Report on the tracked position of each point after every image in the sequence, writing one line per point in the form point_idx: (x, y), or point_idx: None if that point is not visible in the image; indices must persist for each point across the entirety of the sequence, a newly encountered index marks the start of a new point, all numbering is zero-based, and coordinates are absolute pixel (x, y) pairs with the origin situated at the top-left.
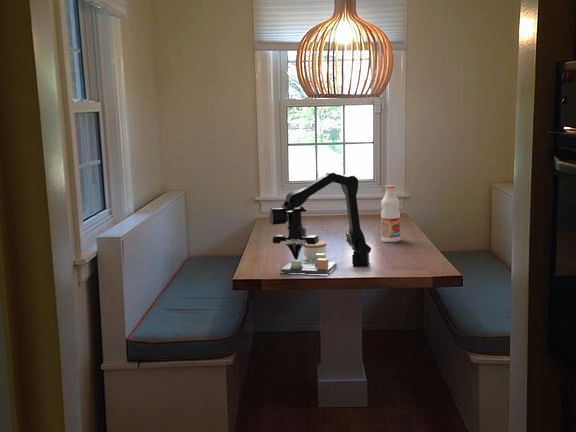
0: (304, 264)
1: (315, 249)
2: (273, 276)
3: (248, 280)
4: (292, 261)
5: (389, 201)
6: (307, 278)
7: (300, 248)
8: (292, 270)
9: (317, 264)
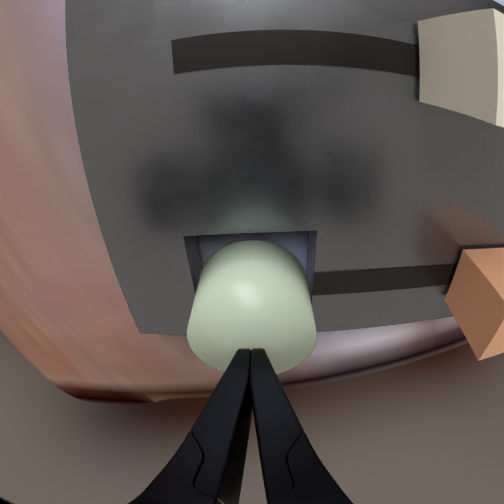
0: (288, 122)
1: None
2: (149, 358)
3: (101, 400)
4: (218, 362)
5: None
6: (368, 357)
7: (324, 482)
8: None
9: (464, 328)
